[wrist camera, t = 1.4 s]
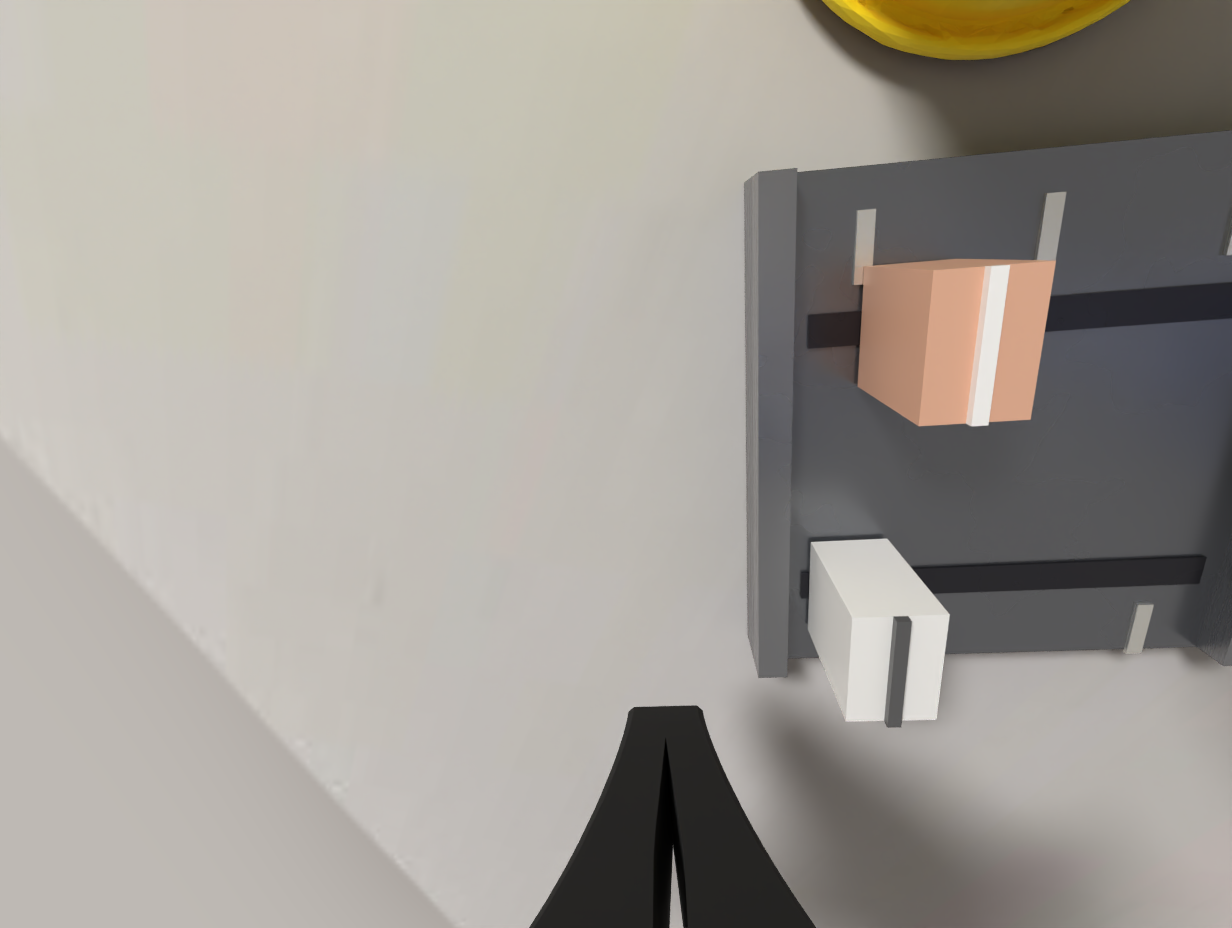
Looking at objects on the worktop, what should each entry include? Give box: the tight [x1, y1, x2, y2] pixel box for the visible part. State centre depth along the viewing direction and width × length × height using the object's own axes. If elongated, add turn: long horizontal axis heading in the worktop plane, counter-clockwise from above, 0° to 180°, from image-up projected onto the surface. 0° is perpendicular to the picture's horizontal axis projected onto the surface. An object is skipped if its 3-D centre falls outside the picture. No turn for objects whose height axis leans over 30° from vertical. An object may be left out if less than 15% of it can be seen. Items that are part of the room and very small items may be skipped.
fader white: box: [808, 539, 950, 727], centre depth 14 cm, size 2×3×4 cm
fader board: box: [744, 130, 1232, 678], centre depth 15 cm, size 13×13×2 cm
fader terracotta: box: [858, 259, 1056, 426], centre depth 12 cm, size 2×3×4 cm
